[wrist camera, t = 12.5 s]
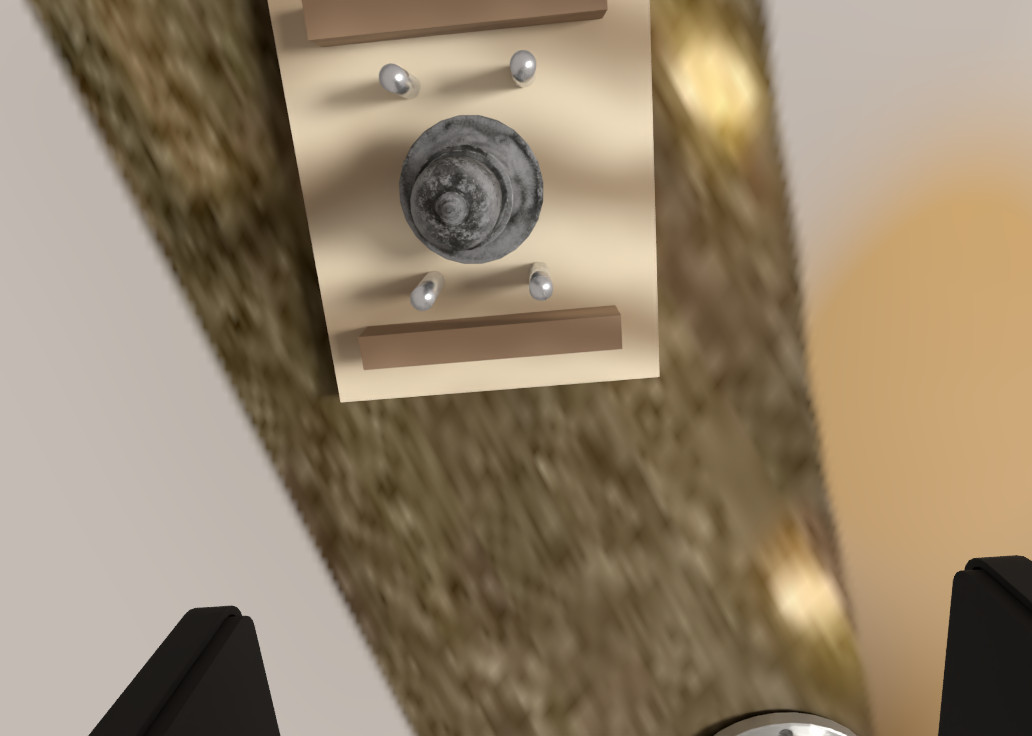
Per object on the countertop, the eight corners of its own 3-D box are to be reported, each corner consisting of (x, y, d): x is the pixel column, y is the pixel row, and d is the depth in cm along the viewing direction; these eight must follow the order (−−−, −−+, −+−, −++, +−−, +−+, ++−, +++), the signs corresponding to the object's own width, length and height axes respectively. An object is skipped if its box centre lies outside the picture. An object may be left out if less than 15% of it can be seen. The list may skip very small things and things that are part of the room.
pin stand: (654, 367, 35) (676, 406, 30) (348, 391, 36) (317, 434, 30) (641, -80, 29) (666, -130, 24) (271, -39, 29) (216, -80, 24)
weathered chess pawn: (550, 127, 30) (564, 115, 19) (533, 259, 32) (536, 322, 20) (418, 109, 30) (350, 87, 18) (408, 243, 32) (341, 297, 20)
